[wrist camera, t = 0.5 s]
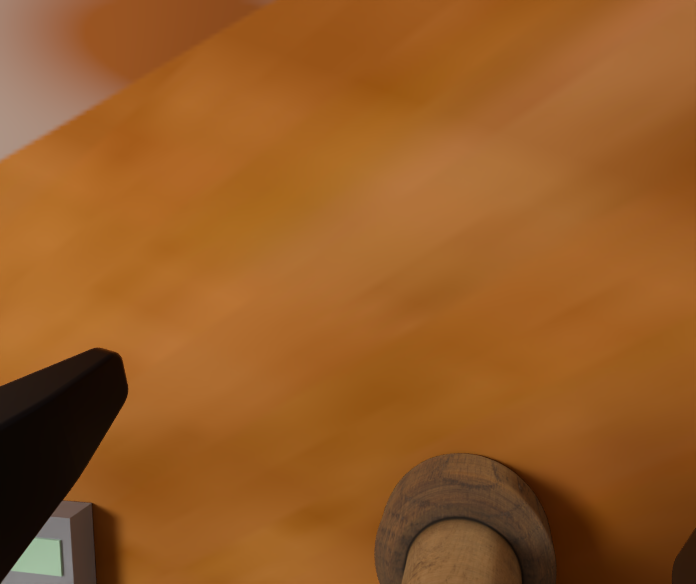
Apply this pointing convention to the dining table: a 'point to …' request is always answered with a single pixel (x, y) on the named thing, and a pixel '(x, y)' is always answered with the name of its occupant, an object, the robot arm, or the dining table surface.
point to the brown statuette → (464, 527)
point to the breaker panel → (60, 550)
